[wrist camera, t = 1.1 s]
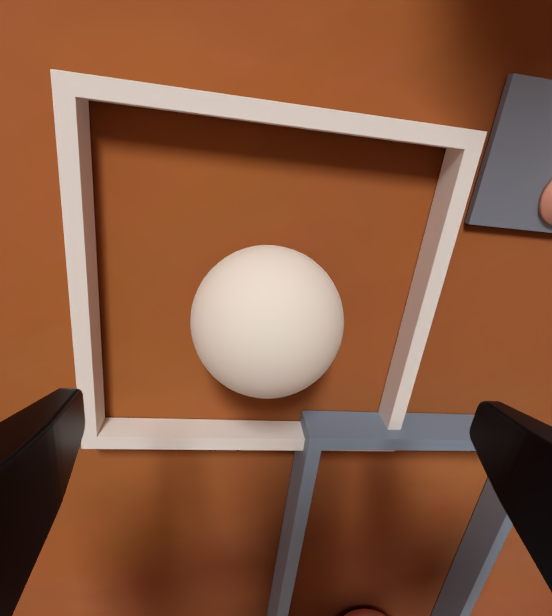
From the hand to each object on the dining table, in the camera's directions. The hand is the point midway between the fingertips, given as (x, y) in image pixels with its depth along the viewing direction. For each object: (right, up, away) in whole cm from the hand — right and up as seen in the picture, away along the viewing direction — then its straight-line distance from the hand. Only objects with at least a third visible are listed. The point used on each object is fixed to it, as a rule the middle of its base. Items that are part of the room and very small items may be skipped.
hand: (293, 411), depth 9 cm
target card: (+11, +8, +6) cm, 14 cm away
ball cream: (-1, +3, +7) cm, 7 cm away
